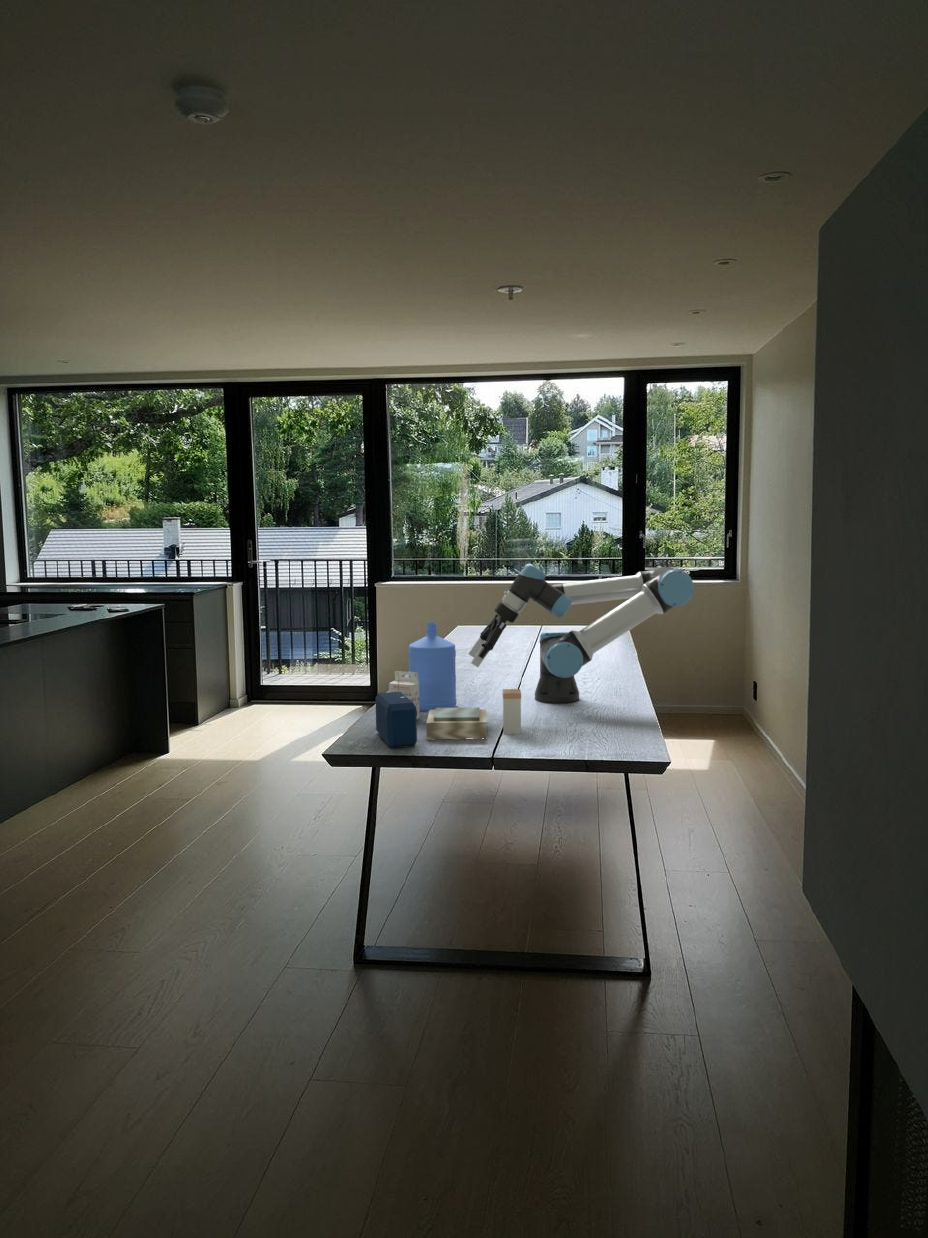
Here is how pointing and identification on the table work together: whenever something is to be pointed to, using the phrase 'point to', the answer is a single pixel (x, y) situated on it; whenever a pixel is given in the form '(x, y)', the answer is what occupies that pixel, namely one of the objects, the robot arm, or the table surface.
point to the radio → (396, 719)
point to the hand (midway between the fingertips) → (472, 660)
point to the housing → (512, 711)
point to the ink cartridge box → (407, 687)
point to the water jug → (434, 670)
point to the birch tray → (456, 723)
